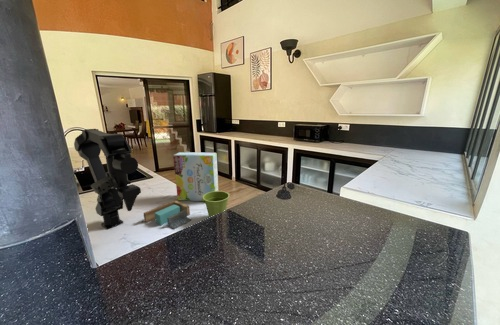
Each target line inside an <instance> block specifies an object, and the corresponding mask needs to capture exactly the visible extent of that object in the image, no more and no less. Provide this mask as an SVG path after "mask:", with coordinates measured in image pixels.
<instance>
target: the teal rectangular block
mask: <svg viewBox="0 0 500 325" xmlns="http://www.w3.org/2000/svg"><path fill="white" fill-rule="evenodd" d="M179 212H180V207H179V206H177V205H172V206H169V207H167V208H165V209H163V210H160V211H158V212H156V213H155V223H156V224H157V225H159V226H164V225H165V224H168V220H167V218H168V217H170V216H172V215H174V214H177V213H179Z"/></svg>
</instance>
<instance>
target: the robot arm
mask: <svg viewBox="0 0 500 325" xmlns="http://www.w3.org/2000/svg"><path fill="white" fill-rule="evenodd" d="M73 145H74V146H73V147H74V150H75V151H76V152H77V153H78V155H79V157H81V158H82V159H83V160H85V161H86V163H87V165H88V168H89V170H90V173H91V175H92V178H93V180H94V183H92V184H91V185H90V188H91V189H92V190H93V191H94V193H95V194H97V197H96V201H97V203H96V206H95V211H96V214H97V215H98V216H100V217H102V219H103V220H102V221H103V222H101V226H102V227H104V228H105V229H106V230H109V229H112V228H114V227H116V226H119V225H121V224H123V223H124V221H123V220H122V219H121V218H120V213H119V210H122V209H123V208H124V204H125V207H126V210H127V212H130V211H132V210H133V206H134V204H135V202H136V199H137V197H138V196H139V195H140V194H141V193H142V191H141V190H142V189H141V187H139V186H137V185H135V184H131V180H129V179H128V178H129V177H128V175H129V174H131V175H132V174H133V173H135V172H136V171H137V169H138V168H139V162H138V160H137V159H136V158H135V157H133V156H132V155H131V153H132V150H131V148H132V147H131V145H130V144H129V143H128V141H127V140H126V137H124V136H123V134H121V133H107V132H104V131H102V130H99V129H98V128H87V129H84V130H83V129H82V131H81V134H79V135H78V136H77V137H75V139H74V143H73ZM101 151H102V153H103V155H104V157H105V161H106V167H107V171H106V169H105V168H104V165H103V162H102V159H101V158H100V154H101Z"/></svg>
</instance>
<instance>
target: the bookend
mask: <svg viewBox="0 0 500 325" xmlns="http://www.w3.org/2000/svg"><path fill="white" fill-rule="evenodd" d="M167 220H168V223H167V227H169V228H170V229H172V230H175V229H179V228H180V227H182V226H183V225H186V224H188V223H189V222H191V221H192V218H190V217H188V216H187V211H186V210H183V211H181V212H179V213H177V214H174V215H172V216H170V217H168V218H167Z"/></svg>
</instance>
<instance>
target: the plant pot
mask: <svg viewBox="0 0 500 325" xmlns="http://www.w3.org/2000/svg"><path fill="white" fill-rule="evenodd" d="M229 198H230V193H229V192H226V191H223V190H218V191H213V192H209V193H206V194H205V195H203V199H204V201H203V202H204V204H205V207H206V211H207V215H208V218H209V217H211V216H213V215H216V214H218V213H221V212H223V211H224V210H226V211H227V207H228V201H229Z"/></svg>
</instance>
